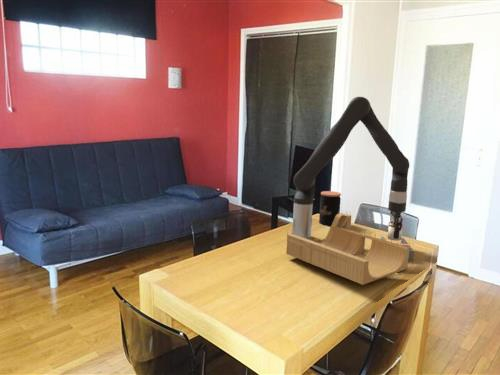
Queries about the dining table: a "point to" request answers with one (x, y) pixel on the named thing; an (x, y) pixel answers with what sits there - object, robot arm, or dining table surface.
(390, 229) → the jar
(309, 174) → the robot arm
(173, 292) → the dining table surface
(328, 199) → the coffee jar
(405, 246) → the pusher
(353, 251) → the skate ramp
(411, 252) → the grey tray
